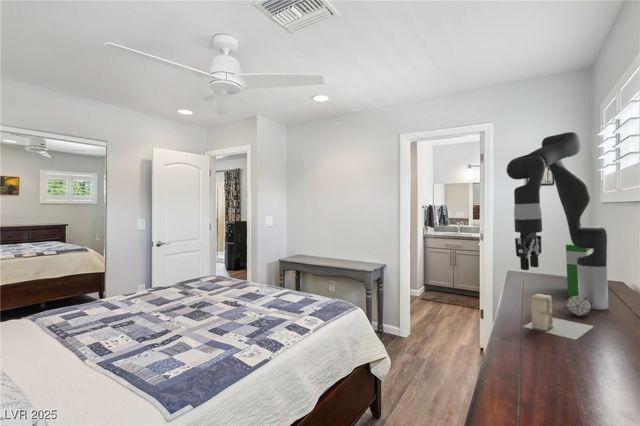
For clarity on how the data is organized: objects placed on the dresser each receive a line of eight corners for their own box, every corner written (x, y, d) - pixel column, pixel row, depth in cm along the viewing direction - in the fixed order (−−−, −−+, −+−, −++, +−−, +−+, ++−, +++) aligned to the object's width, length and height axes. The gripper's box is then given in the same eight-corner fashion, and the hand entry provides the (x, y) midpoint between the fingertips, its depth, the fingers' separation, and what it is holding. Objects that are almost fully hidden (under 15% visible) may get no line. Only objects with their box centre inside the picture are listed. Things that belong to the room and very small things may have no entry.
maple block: (539, 324, 110) (538, 293, 110) (552, 328, 107) (551, 295, 107) (532, 328, 106) (530, 296, 107) (545, 332, 103) (544, 298, 103)
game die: (585, 327, 117) (604, 310, 111) (561, 318, 118) (578, 301, 113) (578, 309, 124) (594, 292, 118) (555, 301, 126) (570, 284, 120)
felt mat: (543, 316, 119) (543, 315, 119) (594, 327, 107) (594, 326, 107) (522, 327, 109) (522, 326, 109) (576, 340, 97) (575, 339, 97)
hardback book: (574, 288, 158) (572, 241, 159) (593, 291, 153) (591, 242, 153) (568, 295, 146) (565, 244, 146) (588, 298, 141) (586, 245, 141)
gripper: (524, 217, 110) (526, 264, 109) (505, 218, 101) (507, 269, 101) (549, 217, 103) (551, 267, 103) (531, 218, 95) (533, 272, 95)
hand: (529, 268), depth 102 cm, fingers open, 6 cm apart
